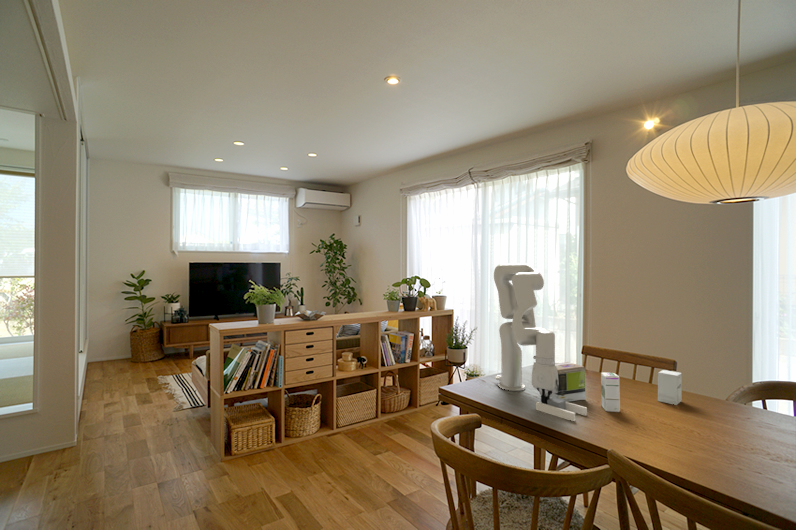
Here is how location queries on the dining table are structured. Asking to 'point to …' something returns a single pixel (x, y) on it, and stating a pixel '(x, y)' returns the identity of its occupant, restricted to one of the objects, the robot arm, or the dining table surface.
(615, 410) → the syrup box
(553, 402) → the block
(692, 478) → the dining table surface
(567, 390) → the tea box
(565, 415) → the channel
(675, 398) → the supplement box
